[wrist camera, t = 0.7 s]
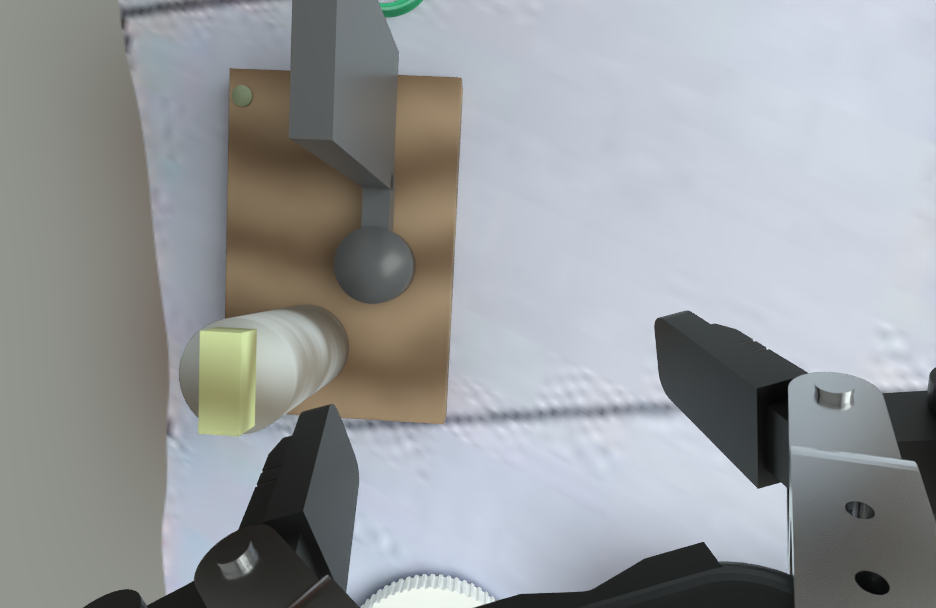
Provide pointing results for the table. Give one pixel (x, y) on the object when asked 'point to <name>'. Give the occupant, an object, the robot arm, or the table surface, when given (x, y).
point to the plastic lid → (429, 594)
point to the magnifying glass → (398, 7)
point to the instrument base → (327, 271)
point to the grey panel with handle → (353, 131)
